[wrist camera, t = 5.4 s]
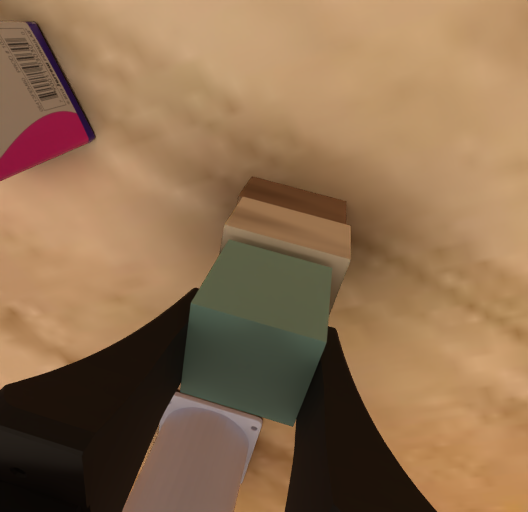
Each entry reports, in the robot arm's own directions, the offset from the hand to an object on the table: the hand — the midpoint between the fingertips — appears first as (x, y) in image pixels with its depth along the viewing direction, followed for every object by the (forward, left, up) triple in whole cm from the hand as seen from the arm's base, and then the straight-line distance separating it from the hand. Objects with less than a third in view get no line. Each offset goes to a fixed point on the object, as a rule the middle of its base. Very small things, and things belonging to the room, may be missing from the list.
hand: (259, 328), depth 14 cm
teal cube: (0, 0, -2) cm, 2 cm away
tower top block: (0, 0, -5) cm, 5 cm away
